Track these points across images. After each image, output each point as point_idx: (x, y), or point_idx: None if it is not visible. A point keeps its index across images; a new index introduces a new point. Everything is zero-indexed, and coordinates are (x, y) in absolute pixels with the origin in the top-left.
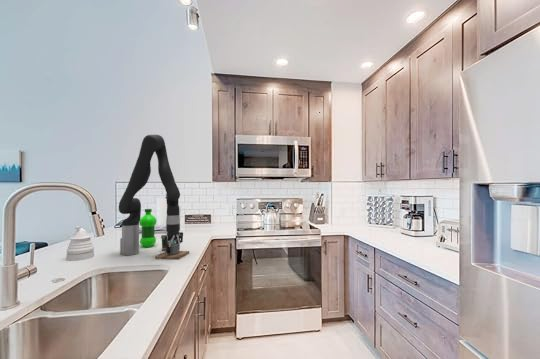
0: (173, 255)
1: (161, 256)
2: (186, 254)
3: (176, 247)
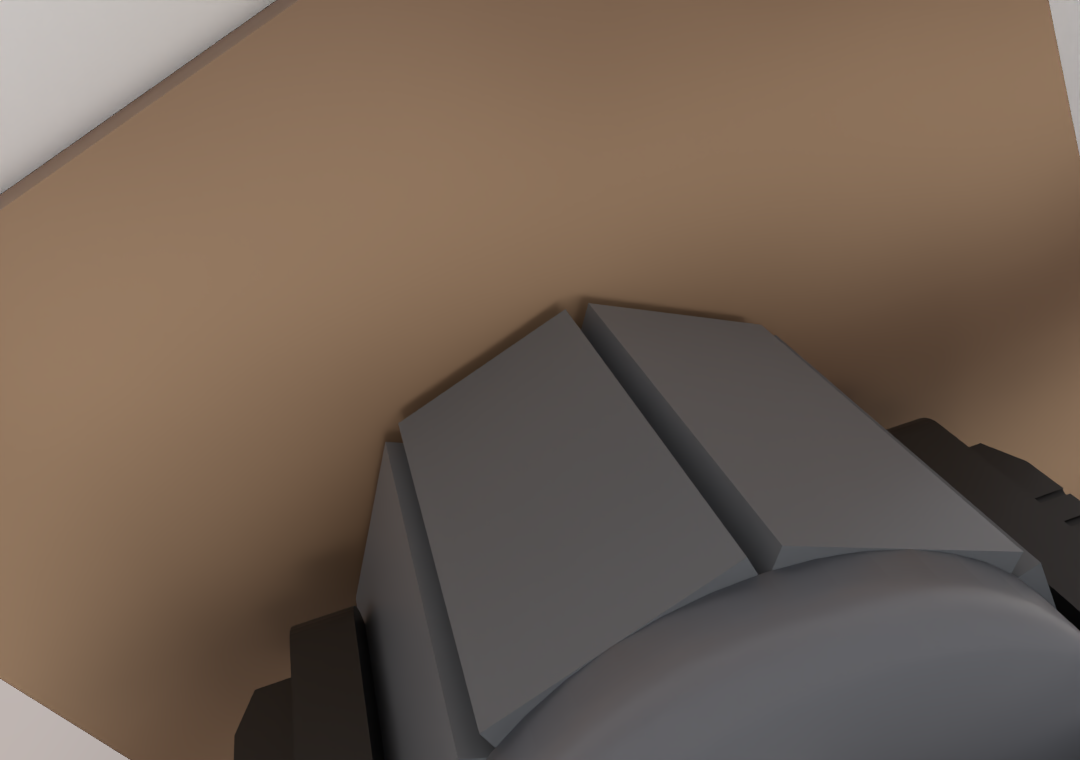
0: (794, 226)
1: (1073, 428)
2: (22, 180)
3: (777, 499)
